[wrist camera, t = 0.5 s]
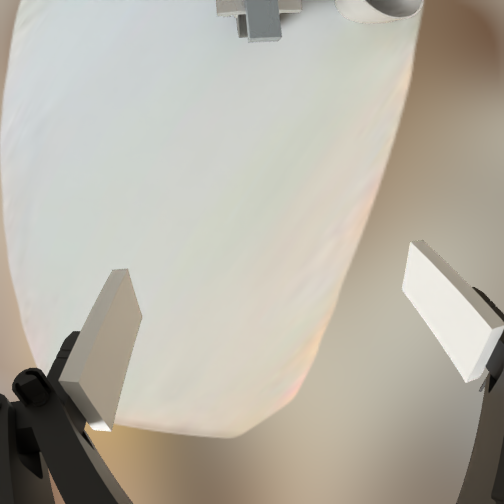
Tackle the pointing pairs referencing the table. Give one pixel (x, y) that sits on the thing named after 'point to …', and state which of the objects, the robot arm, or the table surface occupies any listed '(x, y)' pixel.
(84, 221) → the table surface
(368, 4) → the cup
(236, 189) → the table surface
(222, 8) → the caster wheel
